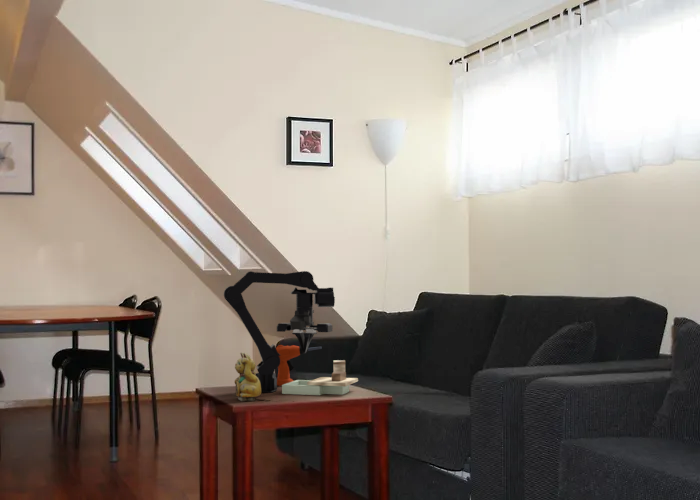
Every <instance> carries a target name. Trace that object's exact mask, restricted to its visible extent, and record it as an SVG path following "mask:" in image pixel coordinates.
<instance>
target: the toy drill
mask: <svg viewBox="0 0 700 500" xmlns="http://www.w3.org/2000/svg"><path fill="white" fill-rule="evenodd" d="M275 347H276V350H277V352H278V353H279V354H280V356H279V357H280V365H279V366H278V367H277V370H278V371H277V377H276V378H277V387H278V386H279V387H282V385H283V384H286V383H289V382H292V381H294V380H293V378H291V376H290V375H291V374H290V372H291V371H292V370H294V368H295V367H294V366H293V365H292V363H291V361H290V360H291V359H293V358H297V357H299V356H301V355H304V354H308V353H309V351H310V352H311V351H315V350H316V351H317V350H322V346H315V347H308V349H307V351H306V353H303V351H302V348H301V346H298V345H294V344H292V345H288V344H287V345H283V344H278V346H275Z"/></svg>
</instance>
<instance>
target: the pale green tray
mask: <svg viewBox="0 0 700 500" xmlns="http://www.w3.org/2000/svg"><path fill="white" fill-rule="evenodd" d="M311 380H312V379H309V380H308V379H307V380H305V379H296V380H293V381H292V382H289V383H286V384H283V385H282V386H281V394H283V395H284V394H285V395H305V396H308V395H310V396H321V395H342V396H343V395H345V394H347V393H349V392H350V385H348V386H322V385H307V382H308V381H311Z"/></svg>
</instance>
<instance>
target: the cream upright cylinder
mask: <svg viewBox="0 0 700 500" xmlns="http://www.w3.org/2000/svg"><path fill="white" fill-rule="evenodd" d="M332 361H333V362H332V364H333V370H332V371H333V372H332V373H334V372H337V371H338V372H346V360H345V359H343V360H341V359H340V360H339V359H337V360H332Z"/></svg>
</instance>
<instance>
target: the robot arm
mask: <svg viewBox="0 0 700 500" xmlns="http://www.w3.org/2000/svg"><path fill="white" fill-rule="evenodd" d="M253 283H254V284H255V283H259V284H280V285H282V284H283V285H284V284H285V285H289V286H294V288H293V290H291V291H290V294H291V295H295V302H296V303H295V305H296V306H295V310H294V315H293V316H292V318H291V319H290V320H289V322H279V323H278V324H277V325H276V332H283V333H284V332H286V331H289V332H291V331H292V332H291V333H292V335H295V337H296V338H297V340H298V343H299V345H300V347H301V348H302V351H303V353H304V354H307V353H306V351H307V349H308V348H309V346H310V343H311V341H312V339H313V338H314V335H316V334H317V333H330V332H333V325H332V323H331V322H330V323H326V322H323V323H322V322H320V323H317V324H315V321H313V319H314V318H313V317H314V313H315V310H314V309H313V307H314V305H316V306H317V308H334V307H335V304H336V303H335V301H336V299H335V298H336V297H335V294H334V287H321V288H320V287H318V285H317V284H316V283H315V280H314V275H313V274H312V273H311V272H310V271H308V270H307V271H306V270H301V271H294V272H287V273H282V272H281V273H279V272H278V273H277V272H258V271H252V270H251V271H247V272H246V273H245V274H244V276H243V277H241V278H240V279H239V280H238V281H236V282H235V283H234V285H229V286H227V287H226V288H225V289H224V290H223V297H224V300H226V302H227V303H228V304H229V305H230V307H232V309H233V310H234V311H235V312H236V313H237V315H238V317H239V319H240V320H241V322H242V324H243V325H244V327H245V329H246V330H247V332H248V334H249V335H250V337H251V339H252V341H253V342H254V344H255V346H256V348H257V351H258V354H259V357H260V358H261V361H260V362H259V363H258V364H257V365H255V369H257V372H255V375H256V376H257V377H258V379H259V381H260V383H261V393H273V392H276V391H278V386H277V377H276V375H277V374H276V372H275V370H276V369H278V366H279V365H280V357H279V356H280V354H279V353H278V352H277V350H276V347H277V346H276V345H275V344H274V343H272V344H271V345H270V344H269V343H268V342H267V340H266V338H265V337H264V335H263V333H262V332H261V329H259V326H258V325H257V324H256V321H255V320H254V318H253V316H252V314H251V313H250V311H249V310H248V308H247V306H246V303H245V300H244V297H243V293H244V292H245V290H247V289H248V288H249V287H251V285H252V284H253ZM298 287H299V288H305V289H298ZM307 289H308V290H309V291H313V292H307ZM314 291H315V292H314ZM313 303H314V304H313Z"/></svg>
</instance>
